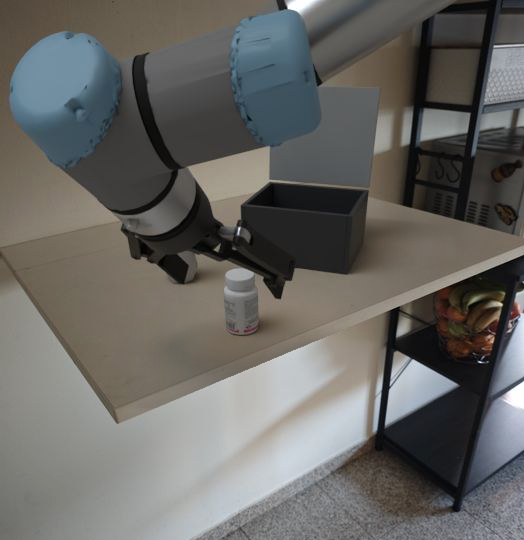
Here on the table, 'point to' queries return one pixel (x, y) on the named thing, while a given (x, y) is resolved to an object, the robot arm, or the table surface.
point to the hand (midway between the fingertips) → (231, 281)
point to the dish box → (311, 222)
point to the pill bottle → (241, 302)
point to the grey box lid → (333, 141)
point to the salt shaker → (192, 263)
